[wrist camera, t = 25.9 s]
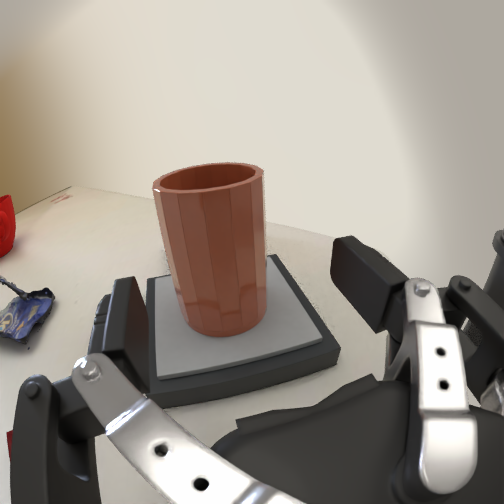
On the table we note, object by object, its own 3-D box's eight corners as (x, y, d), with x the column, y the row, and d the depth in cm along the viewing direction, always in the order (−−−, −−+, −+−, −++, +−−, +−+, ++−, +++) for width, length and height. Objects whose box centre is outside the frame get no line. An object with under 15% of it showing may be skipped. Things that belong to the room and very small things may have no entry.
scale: (276, 270, 29) (276, 249, 28) (336, 364, 18) (342, 342, 17) (152, 294, 26) (145, 274, 25) (155, 409, 15) (142, 391, 14)
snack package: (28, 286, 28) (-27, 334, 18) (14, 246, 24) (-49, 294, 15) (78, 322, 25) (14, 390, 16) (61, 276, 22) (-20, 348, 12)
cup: (253, 274, 24) (246, 158, 19) (279, 324, 19) (279, 181, 14) (179, 289, 23) (155, 172, 18) (186, 345, 17) (148, 201, 12)
